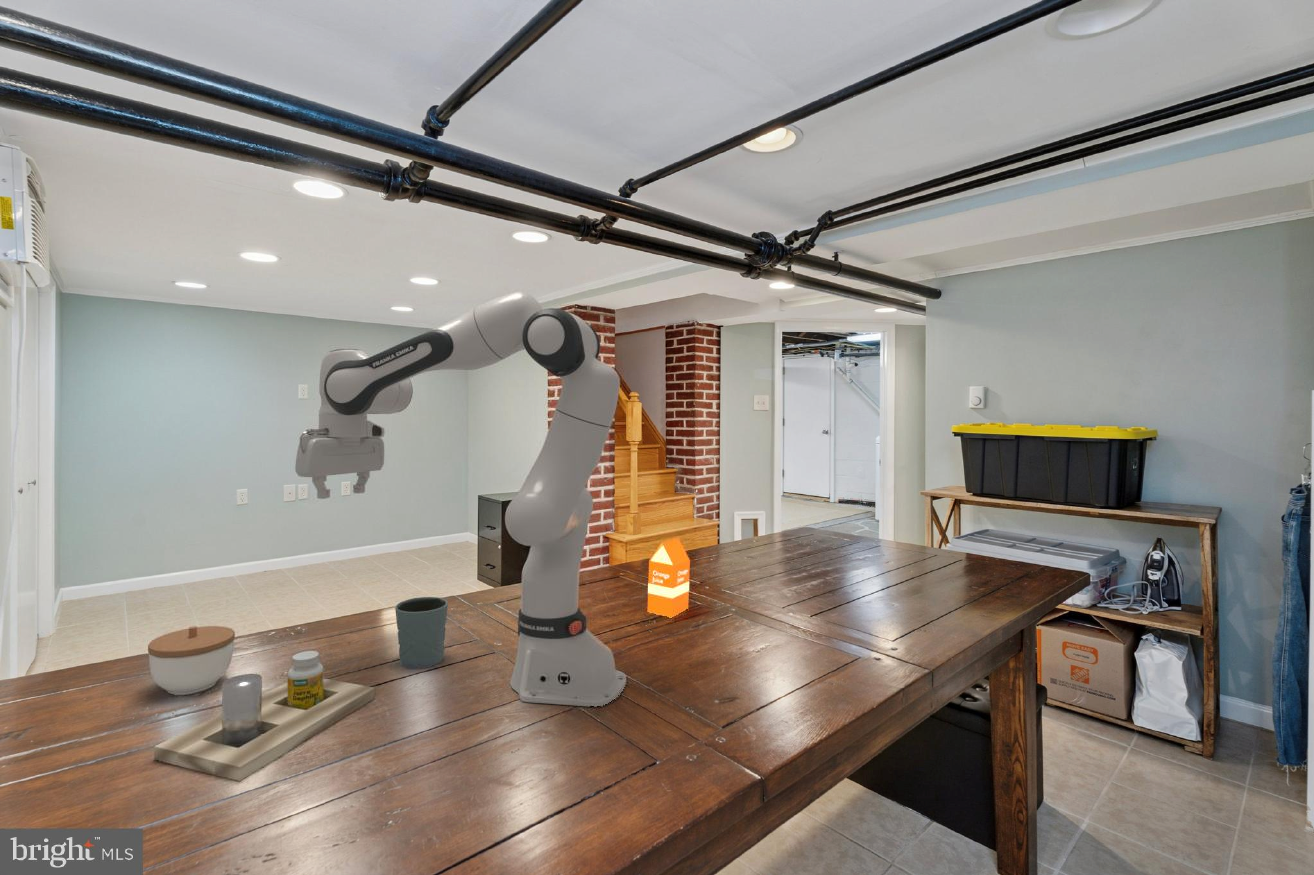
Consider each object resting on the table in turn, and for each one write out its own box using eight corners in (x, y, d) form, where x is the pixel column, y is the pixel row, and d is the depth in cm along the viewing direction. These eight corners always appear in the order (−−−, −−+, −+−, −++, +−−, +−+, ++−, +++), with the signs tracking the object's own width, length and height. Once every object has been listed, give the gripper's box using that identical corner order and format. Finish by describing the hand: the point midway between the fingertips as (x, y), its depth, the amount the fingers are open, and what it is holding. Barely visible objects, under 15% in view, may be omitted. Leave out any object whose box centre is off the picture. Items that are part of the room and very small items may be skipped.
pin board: (374, 698, 109) (374, 687, 109) (239, 781, 84) (239, 766, 83) (302, 685, 113) (303, 674, 113) (154, 759, 88) (154, 746, 88)
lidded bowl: (250, 678, 115) (250, 621, 114) (178, 708, 103) (179, 644, 102) (204, 667, 119) (204, 612, 119) (130, 694, 107) (130, 633, 107)
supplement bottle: (321, 699, 107) (322, 646, 107) (324, 712, 103) (325, 657, 103) (286, 706, 104) (287, 652, 104) (287, 720, 100) (288, 663, 100)
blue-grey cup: (456, 656, 128) (458, 601, 128) (419, 674, 119) (421, 614, 119) (421, 647, 132) (422, 593, 132) (383, 664, 123) (384, 606, 123)
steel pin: (269, 739, 94) (269, 676, 94) (239, 756, 89) (239, 690, 89) (244, 733, 95) (244, 671, 95) (213, 750, 91) (213, 685, 90)
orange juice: (688, 612, 163) (691, 539, 162) (671, 621, 155) (674, 544, 155) (663, 606, 167) (666, 535, 166) (646, 615, 159) (649, 540, 159)
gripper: (314, 429, 113) (313, 503, 113) (390, 428, 132) (388, 491, 133) (287, 428, 114) (286, 500, 115) (366, 427, 134) (365, 489, 135)
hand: (341, 495), depth 124 cm, fingers open, 8 cm apart
